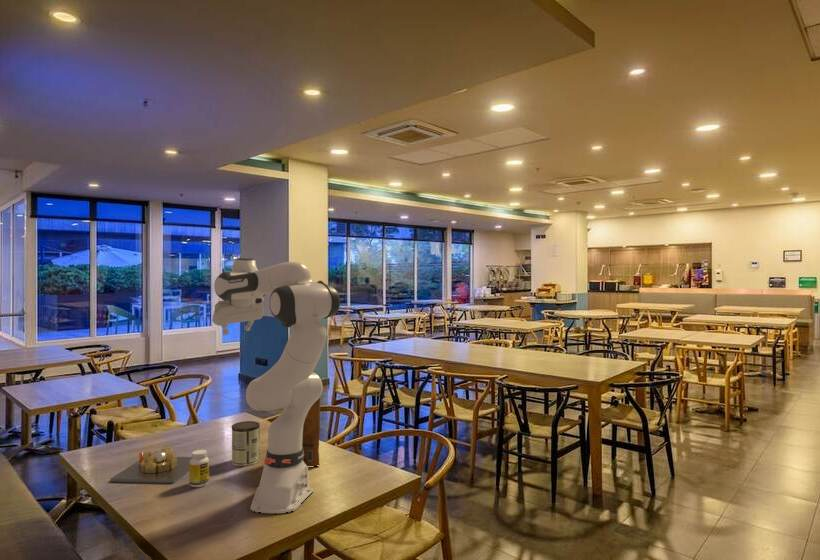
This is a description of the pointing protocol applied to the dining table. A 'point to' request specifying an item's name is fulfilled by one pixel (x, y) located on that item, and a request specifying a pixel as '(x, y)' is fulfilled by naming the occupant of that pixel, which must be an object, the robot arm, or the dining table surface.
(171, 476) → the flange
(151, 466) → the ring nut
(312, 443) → the pancake mix bag
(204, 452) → the pill bottle
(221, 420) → the dining table surface
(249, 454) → the coffee can
